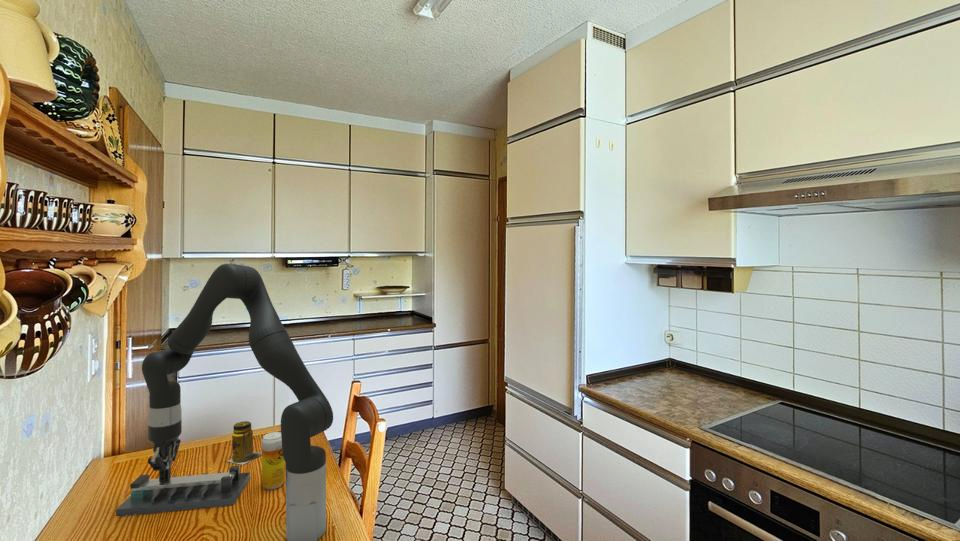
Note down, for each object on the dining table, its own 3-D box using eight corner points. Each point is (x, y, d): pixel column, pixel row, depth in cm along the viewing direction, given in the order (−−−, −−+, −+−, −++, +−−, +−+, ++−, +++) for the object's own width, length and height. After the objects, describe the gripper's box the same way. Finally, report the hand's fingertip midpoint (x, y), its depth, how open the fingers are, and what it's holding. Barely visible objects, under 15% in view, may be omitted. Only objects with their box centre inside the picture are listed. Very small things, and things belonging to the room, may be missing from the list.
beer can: (275, 491, 123) (275, 440, 123) (257, 489, 125) (256, 438, 124) (289, 480, 129) (288, 432, 129) (271, 478, 130) (271, 430, 130)
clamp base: (233, 505, 116) (233, 483, 116) (116, 516, 111) (115, 494, 111) (250, 478, 130) (249, 459, 130) (146, 488, 125) (146, 468, 124)
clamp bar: (230, 484, 120) (230, 475, 120) (130, 493, 115) (130, 484, 115) (236, 475, 125) (236, 466, 125) (141, 483, 120) (141, 475, 120)
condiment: (226, 461, 141) (225, 426, 141) (248, 450, 149) (247, 417, 148) (242, 465, 138) (242, 429, 138) (263, 454, 146) (263, 419, 146)
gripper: (168, 429, 113) (167, 493, 114) (191, 411, 126) (190, 468, 127) (135, 430, 111) (135, 495, 112) (162, 412, 124) (162, 470, 125)
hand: (165, 480), depth 119 cm, fingers closed
